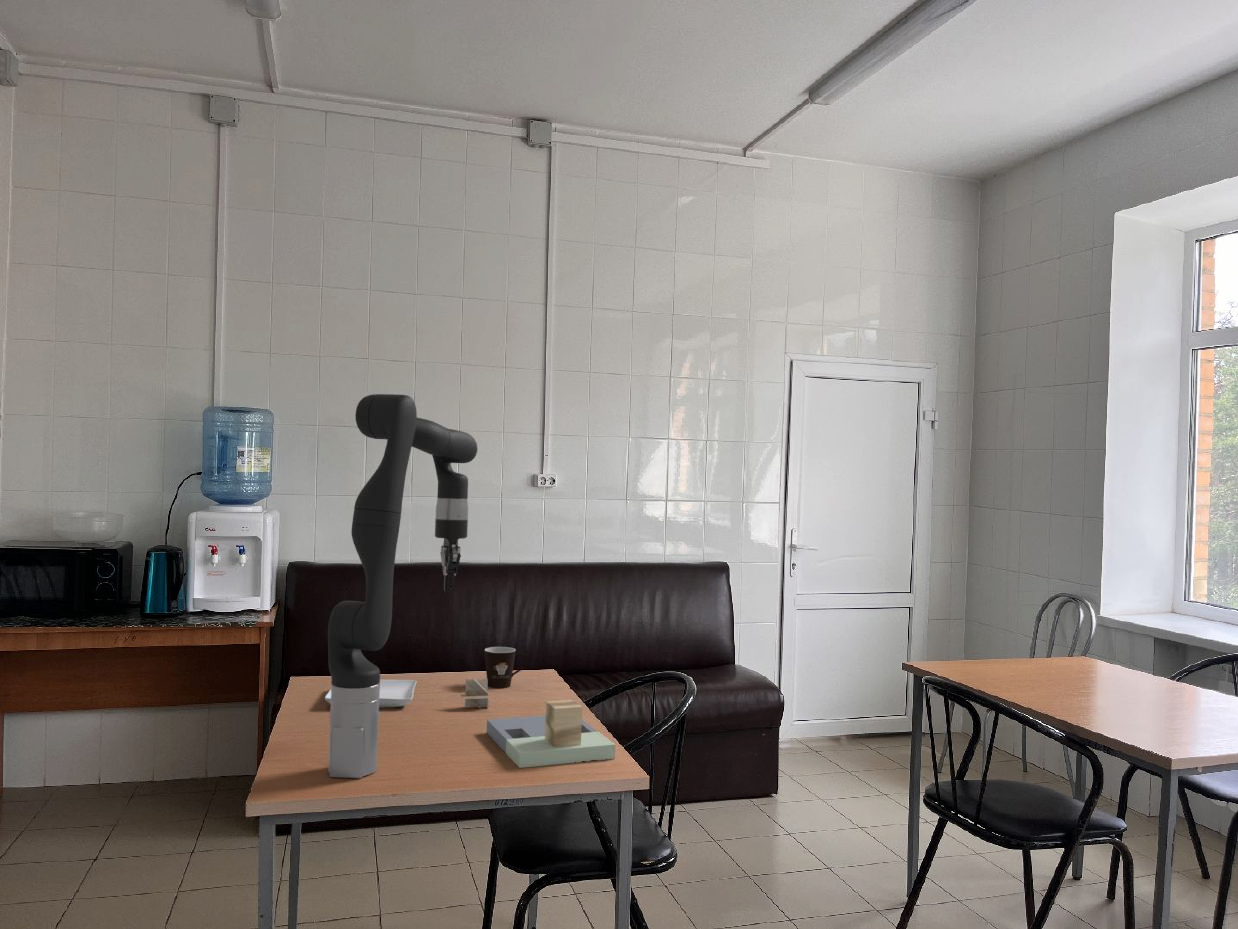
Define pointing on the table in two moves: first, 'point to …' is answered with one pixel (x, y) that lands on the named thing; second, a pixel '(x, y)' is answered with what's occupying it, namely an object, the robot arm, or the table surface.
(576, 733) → the birch block
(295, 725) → the table surface
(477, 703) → the architectural model
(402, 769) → the table surface
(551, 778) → the table surface
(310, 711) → the table surface
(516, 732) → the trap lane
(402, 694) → the salad plate
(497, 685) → the coffee mug
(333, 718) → the robot arm
